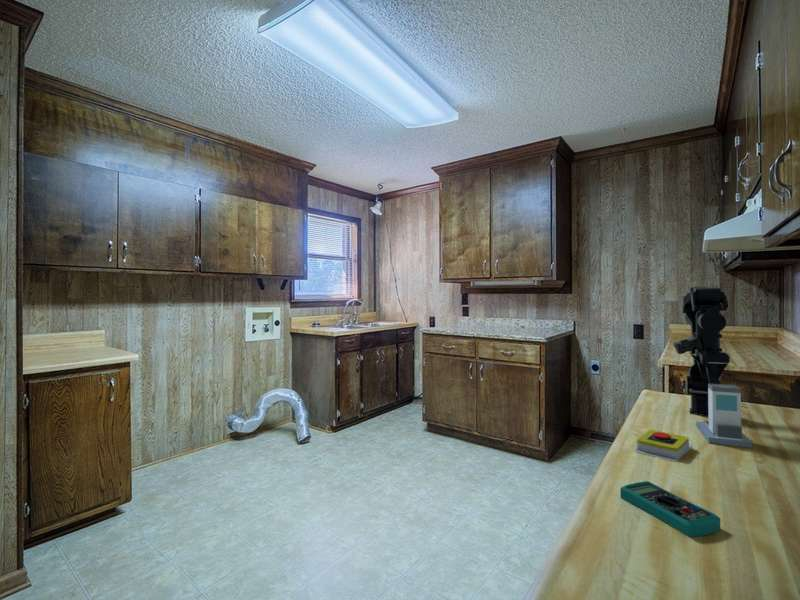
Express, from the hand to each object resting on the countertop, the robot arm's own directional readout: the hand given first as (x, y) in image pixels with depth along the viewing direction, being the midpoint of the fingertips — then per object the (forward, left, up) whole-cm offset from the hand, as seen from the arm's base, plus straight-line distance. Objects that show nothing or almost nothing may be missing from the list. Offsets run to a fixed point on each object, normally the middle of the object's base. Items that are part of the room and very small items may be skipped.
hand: (708, 382), depth 121 cm
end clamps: (+11, +4, -11) cm, 16 cm away
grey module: (+11, +3, -11) cm, 16 cm away
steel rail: (+8, +3, -11) cm, 15 cm away
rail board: (+8, +3, -13) cm, 16 cm away
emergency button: (+28, -9, -14) cm, 32 cm away
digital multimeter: (+63, -5, -14) cm, 65 cm away
